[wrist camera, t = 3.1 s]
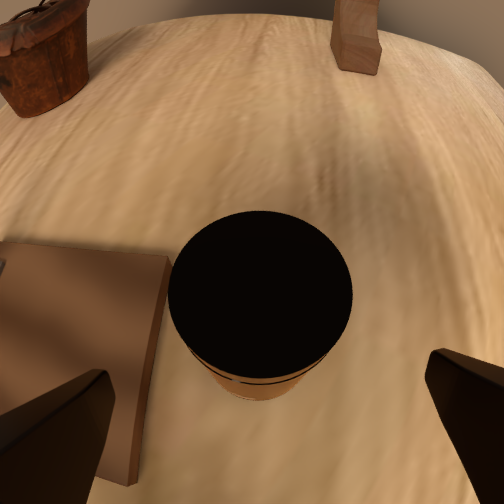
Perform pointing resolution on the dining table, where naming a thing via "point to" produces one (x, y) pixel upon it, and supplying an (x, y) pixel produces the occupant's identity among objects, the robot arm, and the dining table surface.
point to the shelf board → (83, 333)
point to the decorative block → (356, 36)
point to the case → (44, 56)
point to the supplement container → (260, 300)
